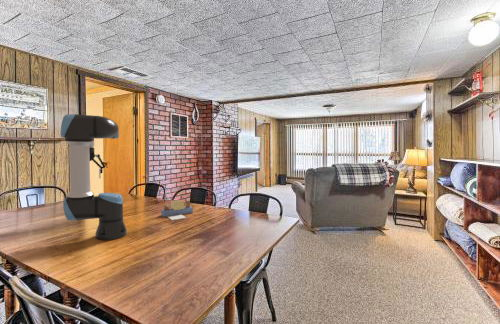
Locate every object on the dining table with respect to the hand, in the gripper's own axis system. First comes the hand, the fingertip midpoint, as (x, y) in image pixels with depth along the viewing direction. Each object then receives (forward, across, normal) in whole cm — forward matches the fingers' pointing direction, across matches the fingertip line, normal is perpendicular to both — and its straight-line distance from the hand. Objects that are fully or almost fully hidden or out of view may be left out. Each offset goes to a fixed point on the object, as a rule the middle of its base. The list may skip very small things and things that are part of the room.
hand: (88, 178), depth 172 cm
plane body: (+27, -56, +16) cm, 64 cm away
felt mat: (+27, -53, +26) cm, 65 cm away
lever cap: (+23, -56, +16) cm, 62 cm away
